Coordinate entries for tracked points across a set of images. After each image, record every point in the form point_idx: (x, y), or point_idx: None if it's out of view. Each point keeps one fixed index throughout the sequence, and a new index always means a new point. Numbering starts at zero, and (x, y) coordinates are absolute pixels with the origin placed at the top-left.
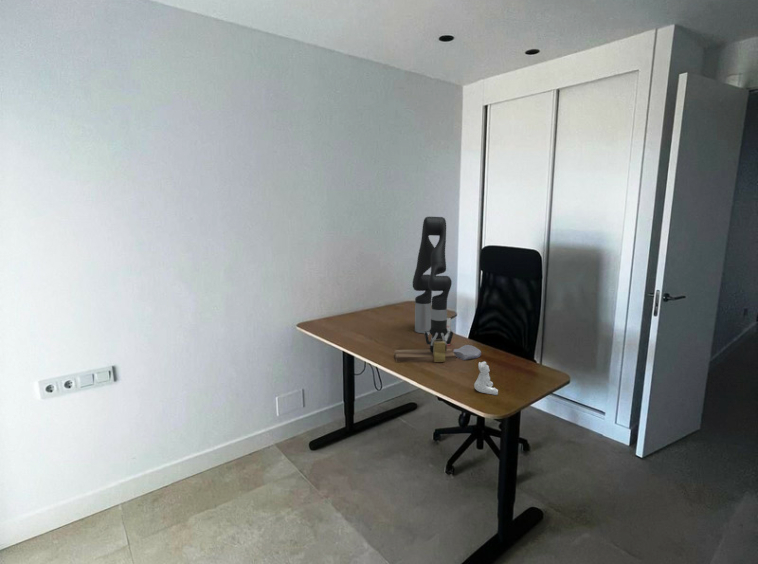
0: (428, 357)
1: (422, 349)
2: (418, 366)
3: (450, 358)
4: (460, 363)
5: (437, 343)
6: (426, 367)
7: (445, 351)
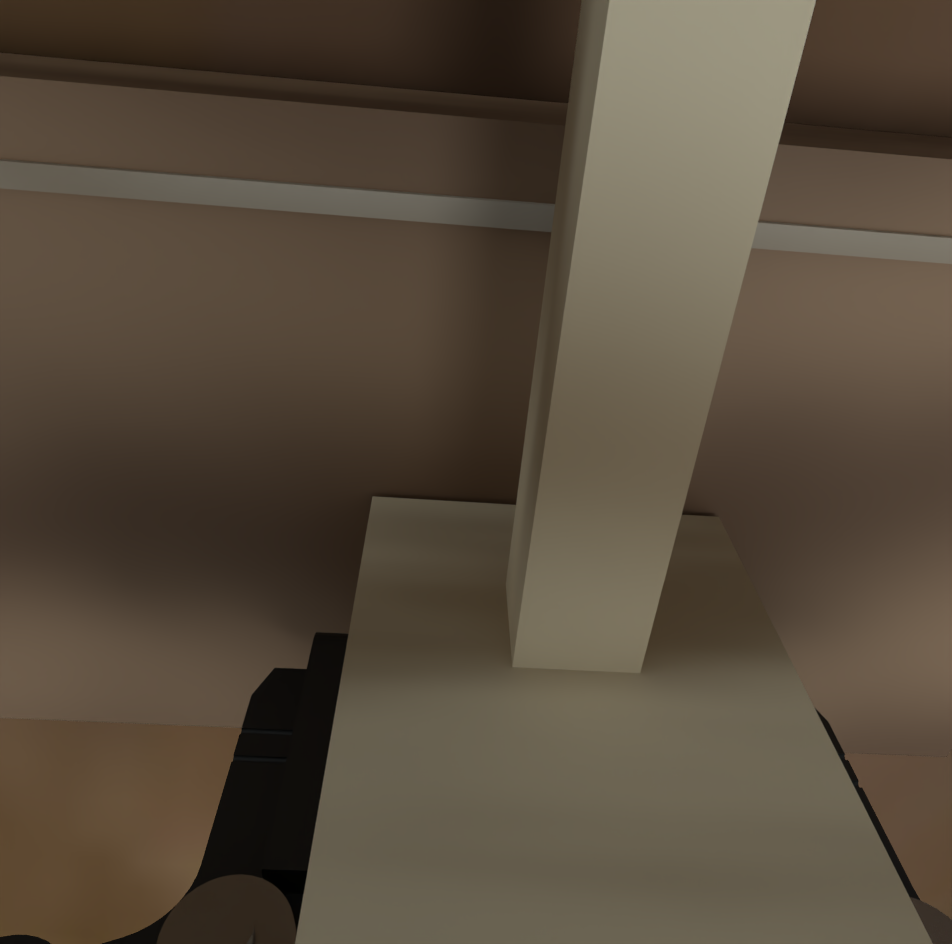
0: (227, 708)
1: (30, 82)
2: (24, 798)
3: None
4: (895, 767)
5: None
6: (182, 841)
7: (877, 441)
